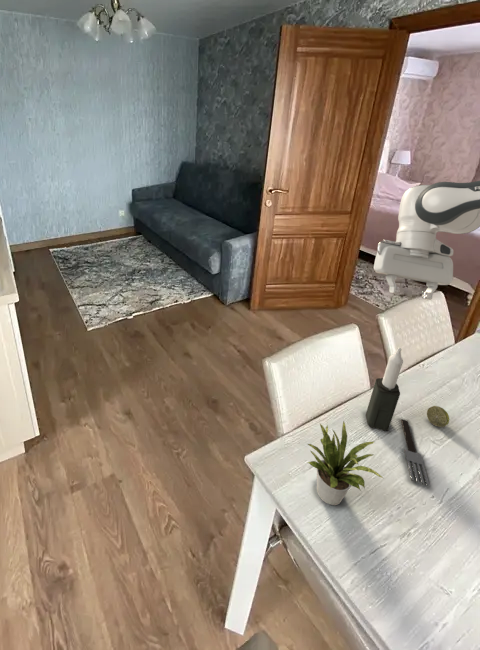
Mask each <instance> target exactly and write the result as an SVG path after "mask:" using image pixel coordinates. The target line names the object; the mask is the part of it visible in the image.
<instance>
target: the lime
mask: <svg viewBox="0 0 480 650" xmlns="http://www.w3.org/2000/svg"><path fill="white" fill-rule="evenodd" d="M426 418H427V420H428V422H429V423H431V425H433V426H435V427H438V428H444V427H446V426H448V425H449V423H450V415H449V413H448V411H446V409H444V408H443V407H441V406H439V405H432V406H430V407H428V408H427V411H426Z"/></svg>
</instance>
